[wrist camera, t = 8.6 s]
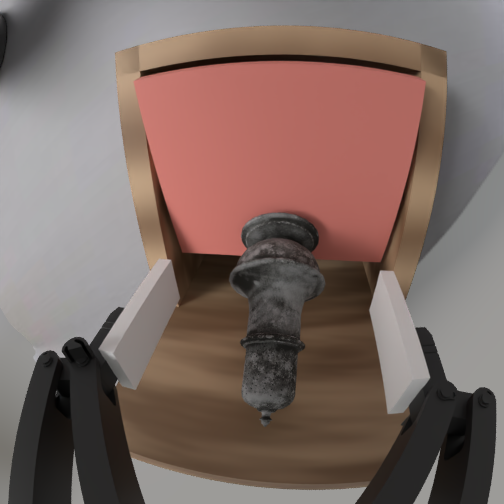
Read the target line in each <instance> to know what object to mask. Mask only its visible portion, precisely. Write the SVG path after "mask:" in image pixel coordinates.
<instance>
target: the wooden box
mask: <svg viewBox="0 0 504 504" xmlns="http://www.w3.org/2000/svg"><path fill="white" fill-rule="evenodd" d="M115 61H116V78H117V91H118V102H119V112H120V121H121V129H122V136H123V144H124V150H125V157H126V163H127V169H128V175H129V180H130V186H131V191H132V196H133V201H134V206H135V211H136V215H137V220H138V224H139V229H140V233H141V237H142V241H143V245H144V249H145V253H146V257H147V261H148V265H149V268H150V271H151V269H152V268H153V266H154V265H155V264H156V262H157V261H158V259H168V260H171V261H172V266H173V270H174V275H175V279H176V283H177V287H178V292H179V296H180V299H179V301H178V303H177V305H176V307H175V309H174V311H173V313H172V315H171V317H170V319H169V321H168V323H167V325H166V327H165V329H164V331H163V333H162V336H161V338H160V340H159V342H158V344H157V346H156V348H155V350H154V352H153V354H152V356H151V358H150V360H149V363H148V365H147V367H146V369H145V371H144V373H143V375H142V378H141V380H140V382H139V384H138V386H137V388H136V390H134V389H130V388H127V387H124V386H122V385H121V384H120V382H118V384H117V386H116V388H117V392H118V399H119V404H120V410H121V415H122V420H123V425H124V430H125V435H126V439H127V443H128V448H129V452H130V455H131V458H134V459H137V460H140V461H143V462H146V463H149V464H152V465H155V466H158V467H162V468H165V469H169V470H172V471H176V472H179V473H184V474H187V475H192V476H196V477H200V478H205V479H210V480H215V481H221V482H226V483H233V484H239V485H247V486H255V487H266V488H279V489H300V490H325V489H346V488H360V487H367V486H368V485H369V483H370V482H371V480H372V479H373V477H374V476H375V474H376V473H377V471H378V469H379V468H380V466H381V465H382V463H383V461H384V460H385V458H386V456H387V455H388V453H389V451H390V449H391V448H392V446H393V444H394V442H395V440H396V438H397V437H398V435H399V433H400V431H401V429H402V427H403V426H401V424H402V422H403V421H404V420H405V419H406V418H407V417H408V416H409V414H410V411H409V407H408V408H407V409H406V410H405V411H404V413H395V414H388V413H387V405H386V397H385V390H384V384H383V377H382V371H381V366H380V360H379V354H378V349H377V344H376V339H375V334H374V329H373V325H372V320H371V316H370V311H369V309H370V306H371V303H372V299H373V296H374V292H375V288H376V285H377V281H378V277H379V273H380V271H394V273H395V276H396V278H397V281H398V283H399V286H400V288H401V291H402V293H403V296H404V299H405V300H406V297H407V294H408V292H409V289H410V286H411V282H412V280H413V277H414V274H415V271H416V267H417V264H418V261H419V258H420V254H421V251H422V247H423V244H424V240H425V236H426V232H427V228H428V224H429V220H430V216H431V211H432V207H433V202H434V197H435V192H436V187H437V181H438V176H439V169H440V163H441V156H442V148H443V139H444V129H445V117H446V99H447V55H446V51H443V50H440V49H437V48H434V47H431V46H427V45H424V44H420V43H416V42H413V41H409V40H404V39H400V38H396V37H391V36H386V35H381V34H375V33H369V32H363V31H356V30H348V29H340V28H329V27H315V26H254V27H240V28H229V29H220V30H212V31H205V32H198V33H192V34H187V35H181V36H176V37H172V38H167V39H163V40H158V41H154V42H150V43H146V44H143V45H139V46H135V47H132V48H129V49H125V50H122V51H119V52H116V53H115ZM258 61H304V62H323V63H336V64H346V65H355V66H362V67H369V68H376V69H382V70H388V71H393V72H398V73H403V74H408V75H412V76H416V77H420V78H421V79H423V80H425V81H426V85H425V92H424V99H423V105H422V112H421V117H420V123H419V128H418V133H417V138H416V143H415V147H414V152H413V156H412V161H411V165H410V169H409V173H408V177H407V181H406V184H405V188H404V192H403V195H402V199H401V202H400V206H399V209H398V212H397V215H396V219H395V222H394V225H393V228H392V231H391V234H390V237H389V240H388V243H387V246H386V249H385V251H384V254H383V257H382V260H381V262H363V261H342V260H321V259H316V261H317V264H318V266H319V269H320V273H321V274H322V275H323V276H324V279H325V287H324V290H323V291H322V292H321V293H320V295H319V296H317V297H315V298H314V299H312V300H309V301H306V302H304V305H303V308H302V312H301V328H300V340H301V341H302V342H303V343H304V344H305V349H304V350H302V351H300V352H299V353H298V361H297V377H296V392H295V397H294V400H293V402H292V403H291V404H290V405H289V406H287V407H285V408H283V409H279V410H277V411H276V412H275V413H271V415H270V418H271V419H272V421H270V423H269V424H268V425H267V426H266V427H264V426H263V424H262V423H261V420H259V419H260V418H261V417H262V412H259V411H258V410H257V408H254V407H252V406H250V405H248V404H247V403H246V402H245V401H244V399H243V398H242V393H241V390H242V381H243V373H244V364H245V355H246V349H245V348H244V347H242V346H241V344H240V341H241V339H243V338H245V337H246V335H247V326H248V317H249V303H248V298H245V297H243V296H242V295H240V294H239V293H237V292H236V291H235V290H234V289H233V288H232V287H231V284H230V282H229V278H230V273H231V272H232V271H233V269H234V268H235V267H237V262H238V261H239V259H240V258H241V256H240V255H221V254H202V253H183V252H182V250H181V247H180V244H179V241H178V238H177V235H176V232H175V229H174V226H173V223H172V220H171V217H170V214H169V211H168V208H167V205H166V201H165V198H164V195H163V192H162V188H161V185H160V182H159V178H158V175H157V172H156V168H155V165H154V161H153V158H152V154H151V150H150V147H149V143H148V139H147V135H146V132H145V128H144V124H143V120H142V116H141V112H140V108H139V104H138V99H137V95H136V91H135V86H134V82H133V81H135V80H136V79H138V78H140V77H143V76H148V75H152V74H157V73H162V72H168V71H173V70H179V69H185V68H192V67H199V66H207V65H216V64H226V63H239V62H258Z"/></svg>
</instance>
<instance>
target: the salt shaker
mask: <svg viewBox="0 0 504 504" xmlns="http://www.w3.org/2000/svg"><path fill="white" fill-rule="evenodd" d="M241 239H242V243H243V244H244V246H245V247H246V248H247V250H246V251H245V252H244V253H243V255H242V256H241V258H240V259H239V261H238V262H237V267H235V268H234V269H233V271H232V272H231V273H230V278H229V282H230V284H231V287H232V288H233V289H234V290H235V291H236V292H237V293H239V294H240V295H242V296H243V297H245V298H248V303H249V317H248V326H247V335H246V337H245V338H243V339H241V341H240V344H241V346H242V347H244V348H245V349H246V355H245V364H244V373H243V381H242V390H241V393H242V398H243V399H244V401H245V402H246V403H247V404H248V405H250V406H252V407H254V408H257V410H258V411H259V412H262V417H261V418H260V419H259V420H261V423H262V424H263V426H264V427H266V426H267V425H268V424H269V423H270V421H272V419H271V418H270V415H271V413H275V412H276V411H277V410H279V409H283V408H285V407H287V406H289V405H290V404H291V403H292V402H293V400H294V397H295V392H296V377H297V361H298V353H299V352H300V351H302V350H304V349H305V344H304V343H303V342H302V341H301V340H300V328H301V312H302V308H303V305H304V302H306V301H309V300H312V299H314V298H315V297H317V296H319V295H320V293H321V292H322V291H323V290H324V287H325V279H324V276H323V275H322V274H321V273H320V269H319V266H318V264H317V261H316V259H315V257H314V255H313V254H312V253H311V252H312V251H314V250H315V249H316V247H317V245H318V242H319V234H318V231H317V229H316V228H315V227H314V225H313V224H312V223H310V222H309V221H308V220H306V219H305V218H302V217H300V216H297V215H294V214H289V213H276V212H273V213H267V214H262V215H259V216H257V217H254V218H252V219H251V220H249V221H248V222H247V223H246V224H245V225H244V227H243V228H242V232H241Z"/></svg>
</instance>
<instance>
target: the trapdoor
mask: <svg viewBox="0 0 504 504" xmlns="http://www.w3.org/2000/svg"><path fill="white" fill-rule="evenodd" d="M133 82H134V86H135V91H136V95H137V99H138V104H139V108H140V112H141V116H142V120H143V124H144V128H145V132H146V135H147V139H148V143H149V147H150V150H151V154H152V158H153V161H154V165H155V168H156V172H157V175H158V178H159V182H160V185H161V188H162V192H163V195H164V198H165V201H166V205H167V208H168V211H169V214H170V217H171V220H172V223H173V226H174V229H175V232H176V235H177V238H178V241H179V244H180V247H181V250H182V252H183V253H202V254H221V255H240V256H242V255H243V253H244V252H245V251H246V250H247V248H246V247H245V246H244V244H243V243H242V239H241V232H242V228H243V227H244V225H245V224H246V223H247V222H248V221H249V220H251V219H252V218H254V217H257V216H259V215H262V214H267V213H273V212H276V213H289V214H294V215H297V216H300V217H302V218H305V219H306V220H308V221H309V222H310V223H312V224H313V225H314V227H315V228H316V229H317V231H318V234H319V242H318V245H317V247H316V249H315V250H314V251H312V252H311V253H312V254H313V255H314V257H315V259H321V260H342V261H363V262H381V260H382V257H383V254H384V251H385V249H386V246H387V243H388V240H389V237H390V234H391V231H392V228H393V225H394V222H395V219H396V215H397V212H398V209H399V206H400V202H401V199H402V195H403V192H404V188H405V184H406V181H407V177H408V173H409V169H410V165H411V161H412V156H413V152H414V147H415V143H416V138H417V133H418V128H419V123H420V117H421V112H422V105H423V99H424V92H425V85H426V81H425V80H423V79H421V78H420V77H416V76H412V75H408V74H403V73H398V72H393V71H388V70H382V69H376V68H369V67H362V66H355V65H346V64H336V63H323V62H304V61H258V62H239V63H226V64H216V65H207V66H199V67H192V68H185V69H179V70H173V71H168V72H162V73H157V74H152V75H148V76H143V77H140V78H138V79H136V80H135V81H133Z"/></svg>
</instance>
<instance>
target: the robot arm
mask: <svg viewBox="0 0 504 504" xmlns="http://www.w3.org/2000/svg"><path fill="white" fill-rule="evenodd" d="M5 44H6V23H5V20H4V18H3V16H1V15H0V66H1V63H2V59H3V55H4V50H5ZM179 299H180V296H179V292H178V287H177V283H176V279H175V275H174V270H173V266H172V261H171V260H168V259H158V261H157V262H156V264H155V265H154V266H153V268H152V269H151V271H150V272H149V273H148V275H147V276H146V278H145V279H144V280H143V282H142V283H141V285H140V286H139V288H138V289H137V291H136V292H135V293H134V295H133V296H132V298H131V299H130V301H129V302H128V304H127V305H126V307H125V308H121V307H118V308H117V309H116V310H114V311H113V312H112V313H111V314H110V315H109V317H108V318H107V320H106V322H105V323H104V324H103V326H102V328H101V329H100V330H99V332H98V333H97V335H96V336H95V338H94V339H93V341H92V342H91V344H90V346H89V345H88V343H87V341H86V340H85V339H84V338H81V337H75V338H72V339H70V340H68V341H67V342H66V343H65V344H64V346H63V348H62V353H63V354H64V355H65V357H66V358H59V356H58V355H57V353H55V352H54V351H51V350H50V351H46V352H44V353H42V354H41V355H40V356H39V358H38V360H37V362H36V365H35V368H34V371H33V374H32V378H31V381H30V384H29V387H28V391H27V394H26V398H25V402H24V405H23V409H22V413H21V417H20V422H19V426H18V431H17V436H16V441H15V447H14V453H13V459H12V467H11V476H10V485H9V501H8V504H71V486H72V466H73V454H74V450H75V457H76V464H77V470H78V475H79V481H80V486H81V491H82V495H83V500H84V504H145V502H144V499H143V496H142V493H141V490H140V487H139V484H138V481H137V477H136V474H135V470H134V467H133V463H132V459H131V455H130V452H129V448H128V443H127V439H126V435H125V430H124V425H123V420H122V415H121V410H120V404H119V399H118V392H117V388H116V386H115V383H116V381H117V379H118V381H119V382H120V384H121V385H122V386H124V387H127V388H130V389H134V390H136V388H137V386H138V384H139V382H140V380H141V378H142V375H143V373H144V371H145V369H146V367H147V365H148V363H149V360H150V358H151V356H152V354H153V352H154V350H155V348H156V346H157V344H158V342H159V340H160V338H161V336H162V333H163V331H164V329H165V327H166V325H167V323H168V321H169V319H170V317H171V315H172V313H173V311H174V309H175V307H176V305H177V303H178V301H179ZM369 311H370V316H371V320H372V325H373V329H374V334H375V339H376V344H377V349H378V354H379V360H380V366H381V371H382V377H383V384H384V390H385V397H386V405H387V413H388V414H395V413H404V411H405V410H406V409H407V408H408V407H409V411H410V414H409V416H408V417H407V418H406V419H405V420H404V421H403V422H402V424H401V426H403V427H402V429H401V431H400V433H399V435H398V437H397V438H396V440H395V442H394V444H393V446H392V448H391V449H390V451H389V453H388V455H387V456H386V458H385V460H384V461H383V463H382V465H381V466H380V468H379V469H378V471H377V473H376V474H375V476H374V477H373V479H372V480H371V482H370V483H369V485H368V486H367V488H366V489H365V491H364V492H363V494H362V495H361V497H360V498H359V499H358V500H357V502H356V503H355V504H413V503H414V501H415V499H416V498H417V496H418V494H419V492H420V490H421V489H422V487H423V485H424V483H425V480H426V479H427V477H428V475H429V473H430V471H431V469H432V466H433V464H434V462H435V460H436V457H437V455H438V453H439V450H440V456H439V460H438V465H437V470H436V474H435V479H434V483H433V487H432V490H431V494H430V498H429V501H428V504H487V502H488V497H489V491H490V486H491V480H492V472H493V465H494V454H495V441H496V399H495V396H494V394H493V392H492V391H491V390H489V389H488V388H485V387H484V388H479V389H477V390H476V391H475V392H474V393H473V394H472V393H466V392H461V391H458V390H457V388H456V387H455V386H454V385H453V384H452V383H451V382H449V381H447V379H446V377H445V373H444V370H443V367H442V364H441V360H440V358H439V355H438V353H437V349H436V346H435V343H434V340H433V337H432V335H431V334H430V333H429V331H428V330H427V329H426V328H425V327H424V328H423V327H421V328H415V327H414V323H413V321H412V318H411V315H410V312H409V309H408V307H407V304H406V301H405V299H404V296H403V293H402V291H401V288H400V286H399V283H398V281H397V278H396V276H395V273H394V271H380V273H379V277H378V281H377V285H376V288H375V292H374V296H373V299H372V303H371V306H370V309H369ZM56 391H57V393H56ZM440 448H441V449H440Z"/></svg>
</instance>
